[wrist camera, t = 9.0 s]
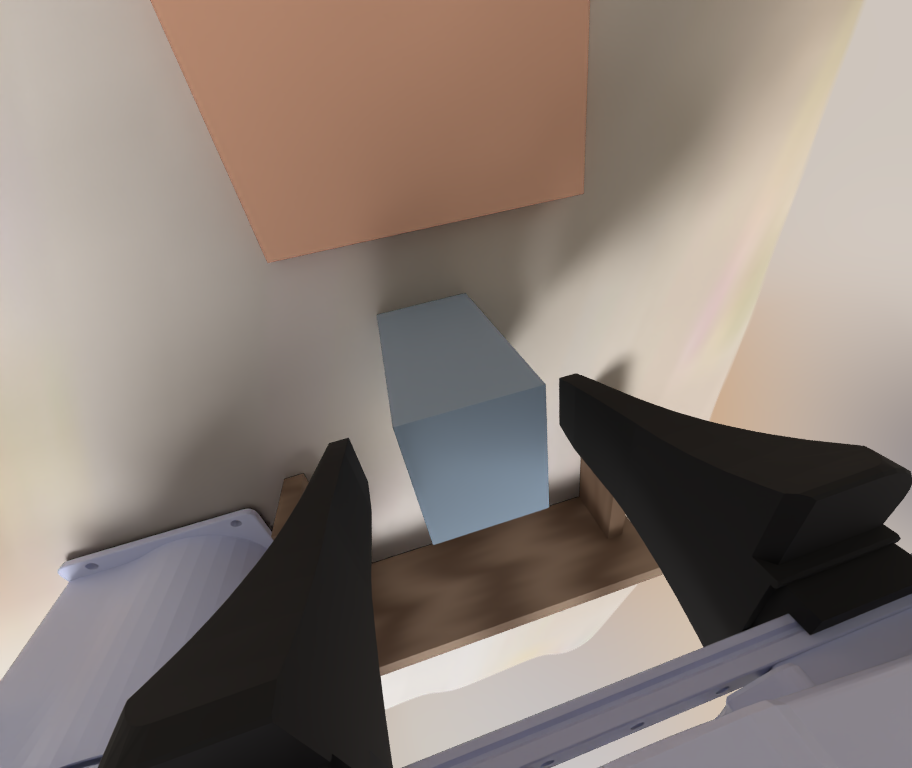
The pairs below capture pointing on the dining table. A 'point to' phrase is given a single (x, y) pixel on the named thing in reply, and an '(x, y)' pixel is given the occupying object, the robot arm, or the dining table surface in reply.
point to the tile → (385, 109)
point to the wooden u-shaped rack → (498, 573)
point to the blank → (464, 417)
